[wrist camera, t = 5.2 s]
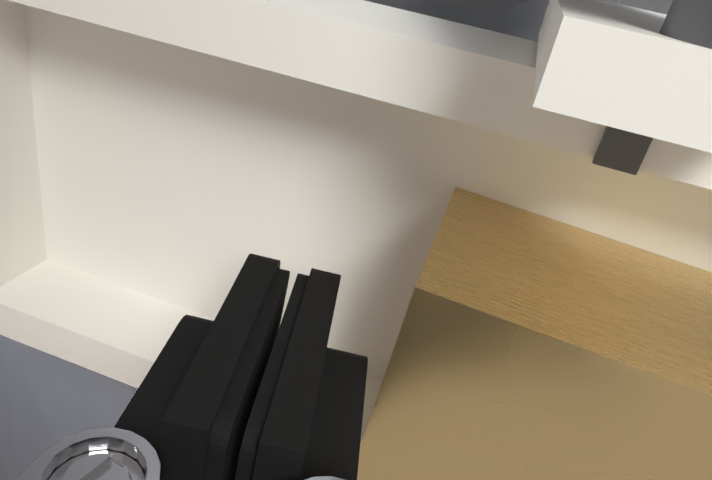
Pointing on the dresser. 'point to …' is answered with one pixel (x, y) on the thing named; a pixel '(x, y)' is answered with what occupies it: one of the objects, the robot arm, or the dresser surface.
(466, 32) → the beam
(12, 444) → the dresser surface
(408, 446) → the block
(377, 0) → the stand
